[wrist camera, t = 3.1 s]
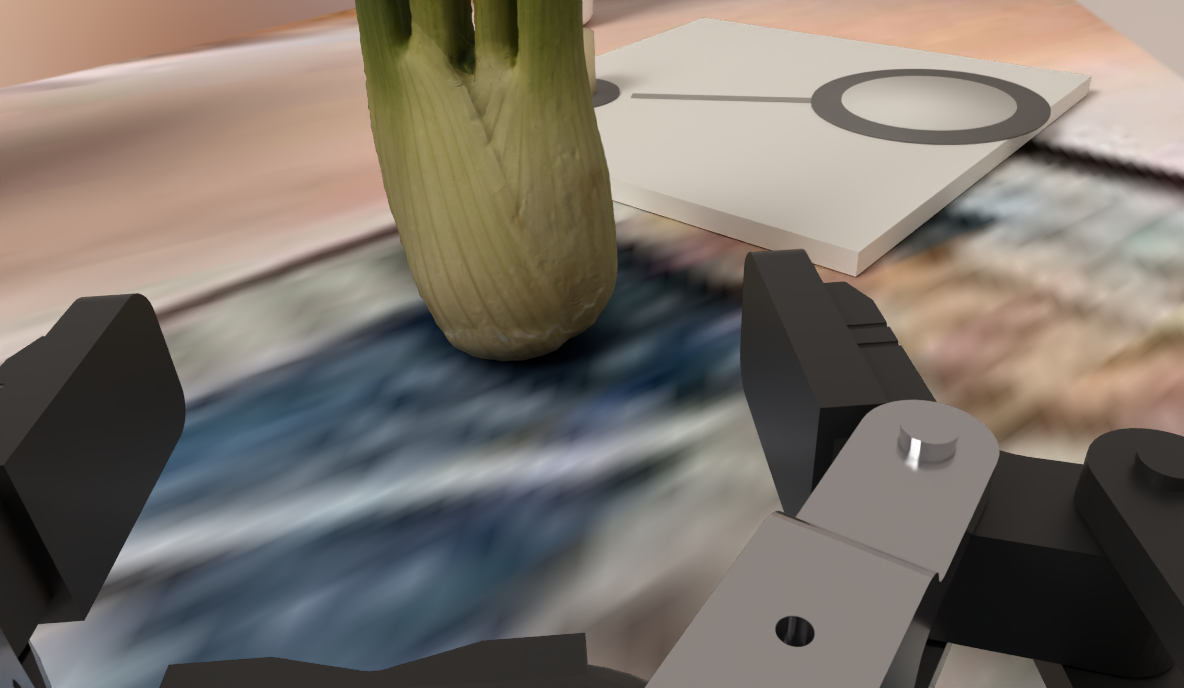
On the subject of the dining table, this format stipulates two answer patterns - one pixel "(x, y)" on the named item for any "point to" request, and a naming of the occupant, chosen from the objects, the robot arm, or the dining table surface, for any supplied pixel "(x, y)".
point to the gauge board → (808, 132)
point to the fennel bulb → (493, 167)
